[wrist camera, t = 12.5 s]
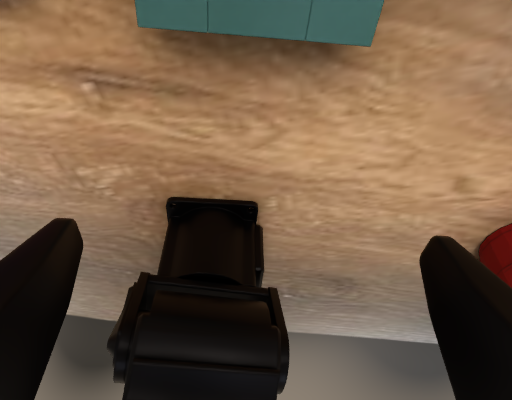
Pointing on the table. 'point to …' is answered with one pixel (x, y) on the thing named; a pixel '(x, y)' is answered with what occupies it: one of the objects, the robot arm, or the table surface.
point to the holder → (268, 18)
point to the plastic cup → (498, 253)
